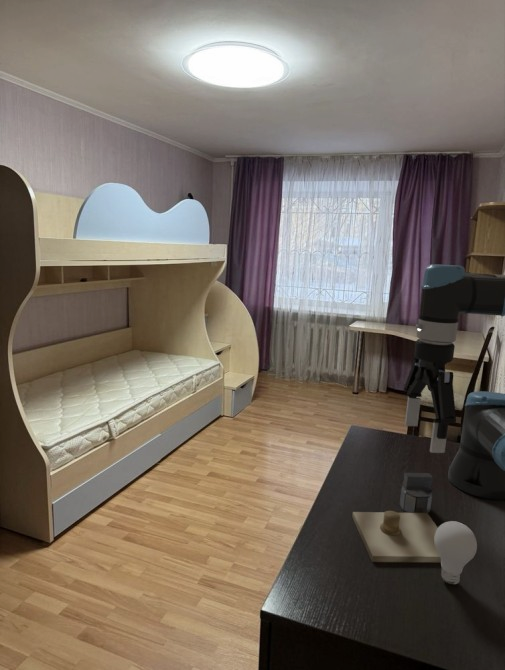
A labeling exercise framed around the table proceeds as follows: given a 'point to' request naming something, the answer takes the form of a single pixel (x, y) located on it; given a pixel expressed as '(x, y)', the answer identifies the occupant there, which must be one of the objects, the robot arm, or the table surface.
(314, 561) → the table surface
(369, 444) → the table surface
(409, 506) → the dark grey rounded piece
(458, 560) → the light bulb
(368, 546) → the socket base
